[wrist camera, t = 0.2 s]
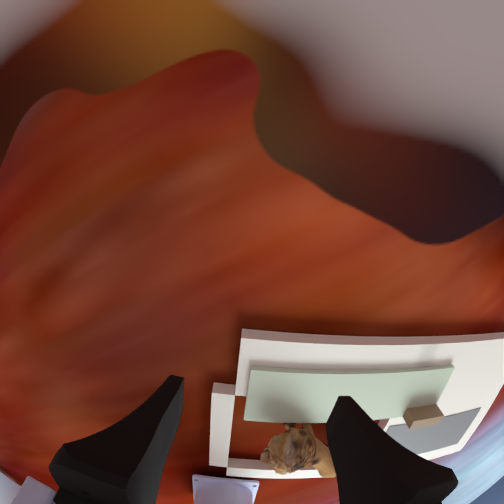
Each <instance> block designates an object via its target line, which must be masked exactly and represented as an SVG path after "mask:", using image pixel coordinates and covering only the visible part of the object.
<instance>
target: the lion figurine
mask: <svg viewBox="0 0 504 504" xmlns="http://www.w3.org/2000/svg"><path fill="white" fill-rule="evenodd" d="M284 427H285V428H286V429H288V430H287V431H286V432H284V433H281V434H279V435H275V436H274V437H272V439H271V440H270V441H269V444H268V446H269V448H266V449H265V450H264V453H262V454H261V459H260V462H261V463H263V464H267V465H270V466H271V467H272V468H275V473H277V474H281V475H285V474H287V473H289V474H290V473H292V472H295V471H297V470H300V469H302V468H306V467H311V466H312V467H314V468H315V469H317V470H318V472H319V474H320V476H322V477H324V478H330V477H335V476H336V473H335V469H334V465H333V461H332V457H331V454H330V452H329V449H328V447H326V446H325V445H324V444H323V443H322V442H321V441H320V440H318V439H316V438H315V436H314V433H313V430H312V427H311V424H310V423H302V429H297V428H296V424H294V423H285V425H284Z"/></svg>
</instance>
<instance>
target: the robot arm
mask: <svg viewBox="0 0 504 504" xmlns="http://www.w3.org/2000/svg"><path fill="white" fill-rule="evenodd" d="M183 391H184V378H183V377H178V376H174V375H170V376H169V377H168V378H167V379H166V380H165V382H164V383H163V384H162V385H161V386H160V387H159V388H158V389H157V390H156V392H155V393H153V394H152V395H151V396H150V397H149V398H148V399H147V400H146V401H145V402H144V403H143V404H142V405H140V406H139V407H138V408H137V409H136V410H134V411H133V412H132V413H130V414H129V415H128V416H126V417H125V418H123V419H122V420H120V421H119V422H117V423H115V424H114V425H112V426H110V427H108V428H106V429H104V430H102V431H100V432H98V433H95V434H93V435H91V436H88V437H86V438H83V439H80V440H76V441H73V442H69V443H65V444H63V446H62V447H61V448H60V449H59V450H58V452H57V453H56V454H55V456H54V458H53V459H52V461H51V463H50V465H49V470H50V473H51V475H52V476H53V478H54V479H55V481H56V483H57V484H58V486H59V487H60V488H59V490H58V492H57V493H56V492H55V491H54V490H53V489H51V488H50V487H48V486H46V485H44V484H42V483H41V482H39V481H37V480H35V479H33V478H32V477H30V476H27V478H26V480H25V481H24V483H23V485H22V486H21V488H20V490H19V492H18V493H17V495H16V497H15V498H14V500H13V502H12V504H156V499H157V494H158V489H159V485H160V480H161V476H162V472H163V468H164V465H165V461H166V459H167V456H168V453H169V451H170V448H171V445H172V443H173V440H174V437H175V434H176V432H177V429H178V426H179V422H180V418H181V413H182V409H183ZM326 433H327V441H328V446H329V450H330V454H331V457H332V461H333V465H334V469H335V473H336V477H337V482H338V490H339V501H340V504H442V503H441V502H442V501H443V500H444V499H445V498H446V497H447V496H448V495H449V494H450V493H451V492H452V491H453V490H454V489H455V488H456V486H457V484H458V480H457V478H456V476H455V474H454V472H453V470H452V469H450V468H447V467H444V466H441V465H438V464H436V463H433V462H431V461H429V460H426V459H424V458H422V457H420V456H418V455H417V454H415V453H413V452H412V451H410V450H408V449H407V448H405V447H404V446H402V445H401V444H400V443H398V442H397V441H396V440H394V439H393V438H392V437H391V436H389V435H388V434H387V433H386V432H385V431H384V430H383V429H382V428H380V427H379V426H378V425H377V424H376V423H375V422H374V421H373V420H372V419H371V418H370V416H369V415H368V414H367V413H366V412H365V411H364V410H363V409H362V408H361V407H360V406H359V405H358V403H357V402H356V401H355V400H354V399H353V398H352V397H351V396H338V398H337V401H336V403H335V405H334V407H333V410H332V412H331V414H330V416H329V418H328V420H327V422H326ZM192 483H193V495H194V504H253V503H254V500H255V497H256V493H257V490H258V487H259V481H257V480H242V479H230V478H220V477H212V476H204V475H197V474H194V475H193V476H192Z"/></svg>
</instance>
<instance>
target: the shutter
mask: <svg viewBox="0 0 504 504" xmlns="http://www.w3.org/2000/svg"><path fill="white" fill-rule="evenodd" d="M454 368H455V367H454V366H453V365H452V364H450V365H440V366H429V367H417V368H401V369H378V370H315V369H291V368H275V367H261V366H251V369H250V376H249V383H248V391H247V398H246V405H245V412H244V420H246V421H260V422H279V423H326V422H327V420H328V418H329V416H330V414H331V412H332V410H333V407H334V405H335V403H336V401H337V398H338V396H351V397H352V398H353V399H354V400H355V401H356V402H357V403H358V405H359V406H360V407H361V408H362V409H363V410H364V411H365V412H366V413H367V414H368V415H369V416H370V418H371V419H372V420H379V419H388V418H396V417H403V419H404V421H405V422H406V424H407V426H408V428H409V429H415V428H420V427H425V426H430V425H435V424H439V423H440V422H441V420H442V418H443V417H444V414H443V413H442V411H441V410H440V408H439V407H438V406H437V402H438V400H439V398H440V396H441V394H442V392H443V391H444V389H445V387H446V385H447V383H448V381H449V379H450V377H451V374H452V372H453V370H454Z"/></svg>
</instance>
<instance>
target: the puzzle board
mask: <svg viewBox="0 0 504 504" xmlns="http://www.w3.org/2000/svg"><path fill="white" fill-rule="evenodd" d="M450 364H452V365H453V366H454V367H455V368H454V370H453V372H452V374H451V377H450V379H449V381H448V383H447V385H446V387H445V389H444V391H443V392H442V394H441V396H440V398H439V400H438V402H437V406H438V407H439V408H440V410H441V411H442V413H443V414H444V417H443V418H442V420H441V422H440V423H439V424H435V425H430V426H425V427H420V428H415V429H409V428H408V426H407V424H406V422H405V421H404V419H403V417H396V418H388V419H380V421H379V423H378V426H379V427H380V428H382V429H383V430H384V431H385V432H386V433H387V434H388V435H389V436H391V437H392V438H393V439H394V440H396V441H397V442H398V443H400V444H401V445H402V446H404V447H405V448H407V449H408V450H410V451H412V452H413V453H415V454H417V455H418V456H420V457H422V458H424V459H426V460H430V459H434V458H437V457H441V456H444V455H448V454H451V453H454V452H457V451H460V450H461V449H462V448H463V446H464V445H465V444H466V442H467V441H468V440H469V438H470V437H471V435H472V434H473V432H474V431H475V430H476V428H477V427H478V425H479V424H480V422H481V421H482V419H483V418H484V416H485V414H486V413H487V411H488V410H489V408H490V406H491V405H492V403H493V401H494V400H495V398H496V396H497V394H498V393H499V391H500V389H501V387H502V385H503V384H504V332H499V333H486V334H471V335H452V336H417V337H377V336H340V335H319V334H302V333H288V332H275V331H264V330H253V329H243V328H242V333H241V342H240V352H239V361H238V370H237V379H236V385H234V384H225V383H216V382H214V383H213V388H212V397H211V422H210V452H209V465H211V466H219V467H227V473H226V476H237V477H252V478H317V477H322V476H320V474H319V472H318V470H317V469H315V468H314V467H312V466H311V467H306V468H302V469H300V470H297V471H295V472H292V473H290V474H289V473H287V474H285V475H281V474H277V473H275V468H272V467H271V466H270V465H267V464H263V463H261V462H260V460H250V459H237V458H228V455H229V446H230V436H231V427H232V418H233V409H234V400H235V395H236V396H247V391H248V383H249V376H250V369H251V366H261V367H275V368H291V369H315V370H378V369H401V368H417V367H429V366H440V365H450Z"/></svg>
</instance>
